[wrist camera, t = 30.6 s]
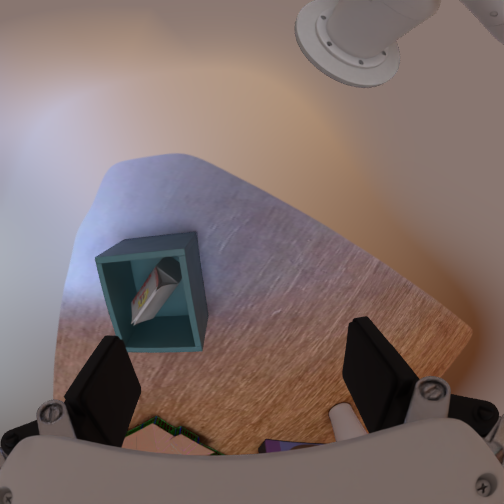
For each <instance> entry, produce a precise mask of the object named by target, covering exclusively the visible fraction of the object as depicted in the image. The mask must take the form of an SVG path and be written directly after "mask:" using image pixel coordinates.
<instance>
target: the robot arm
mask: <svg viewBox="0 0 504 504" xmlns="http://www.w3.org/2000/svg"><path fill="white" fill-rule="evenodd" d="M460 1H461V2H462V3H463V4H464V5H465V6H466V7H467V8H468V9H469V10H470V11H471V12H472V13H473V15H474V16H475V17H476V18H477V19H478V20H479V21H480V22H481V23H482V24H483V25H484V27H485V28H486V29H487V30H488V31H489V32H490V33H491V34H492V35H493V36H494V37H495V38H496V39H497V40H498V41H499V42H501V43H502V44H504V0H460ZM440 2H441V0H339V2H338V3H337V5H336V6H335V7H331V8H328V9H326V10H324V11H322V12H321V13H320V14H319V16H318V18H317V20H316V23H315V32H316V35H317V38H318V40H319V42H320V43H321V45H322V46H323V47H324V48H325V50H326V51H327V52H328V53H329V54H331V55H332V56H333V57H334V58H336V59H337V60H339V61H340V62H342V63H344V64H346V65H349V66H352V67H355V68H360V69H370V68H375V67H377V66H379V65H380V64H382V63H383V62H384V61H385V60H386V58H387V56H388V51H389V47H388V46H390V45H391V44H392V43H394V42H395V41H396V40H398V39H399V38H400V37H402V36H403V35H404V34H406V33H408V32H409V31H411V30H412V29H413V28H415V27H416V26H418V25H419V24H421V23H422V22H424V21H425V20H427V19H428V18H430V17H431V16H433V15H434V14H435V13H436V12H437V10H438V8H439V6H440ZM342 375H343V379H344V381H345V383H346V385H347V388H348V390H349V392H350V394H351V396H352V398H353V400H354V402H355V404H356V406H357V408H358V411H359V413H360V415H361V417H362V419H363V421H364V423H365V425H366V428H367V430H368V432H369V434H366V435H362V436H359V437H355V438H351V439H346V440H342V441H338V442H333V443H329V444H324V445H319V446H313V447H308V448H302V449H295V450H288V451H280V452H271V453H261V454H247V455H219V456H207V455H180V454H166V453H156V452H147V451H139V450H132V449H126V448H122V445H123V442H124V439H125V436H126V433H127V430H128V427H129V424H130V421H131V419H132V416H133V413H134V410H135V407H136V405H137V402H138V399H139V397H140V394H141V386H140V383H139V381H138V378H137V376H136V373H135V371H134V368H133V366H132V363H131V360H130V358H129V355H128V352H127V350H126V347H125V344H124V341H123V340H122V339H120V338H119V337H118V336H105V337H104V338H103V339H102V341H101V342H100V343H99V345H98V346H97V348H96V349H95V350H94V352H93V353H92V355H91V356H90V358H89V359H88V361H87V362H86V364H85V365H84V367H83V368H82V369H81V371H80V372H79V374H78V375H77V377H76V379H75V380H74V382H73V383H72V385H71V386H70V388H69V389H68V391H67V392H66V394H65V396H64V397H65V399H66V400H65V402H64V403H63V402H62V401H60V400H49V401H47V402H45V403H43V404H42V405H41V406H40V407H39V408H38V411H37V420H35V421H33V422H30V423H28V424H25V425H23V426H20V427H17V428H14V429H12V430H9V431H7V432H6V433H5V434H4V435H3V437H2V439H1V447H0V504H504V414H503V415H502V417H500V416H499V412H498V410H497V408H496V406H495V405H494V404H492V403H491V402H488V401H484V400H478V399H473V398H468V397H463V396H457V395H453V394H451V389H450V386H449V384H448V383H447V382H446V381H444V380H443V379H441V378H439V377H435V376H428V377H424V378H422V379H419V378H418V377H417V375H416V374H415V373H414V372H413V370H412V369H411V368H410V367H409V365H408V364H407V363H406V362H405V360H404V359H403V358H402V357H401V355H400V354H399V353H398V352H397V351H396V349H395V348H394V347H393V346H392V345H391V344H390V343H389V342H388V340H387V339H386V338H385V337H384V336H383V334H382V333H381V332H380V331H379V330H378V328H377V327H376V326H375V325H374V324H373V322H372V321H371V320H370V319H369V318H368V317H367V316H365V317H359V318H354V319H353V321H352V322H350V323H349V326H348V334H347V343H346V350H345V357H344V364H343V371H342Z"/></svg>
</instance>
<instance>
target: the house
mask: <svg viewBox="0 0 504 504" xmlns="http://www.w3.org/2000/svg"><path fill="white" fill-rule="evenodd" d="M154 418H155V417H154ZM158 418H159V417H158ZM152 419H153V418H152ZM156 419H157V416H156ZM156 419H155V422H154V419H153V423H152V421H151V424H150V422H149V421H150V420H151V419H150V420H148V421H147V422H149V425H148V423H147V422H145V423H147V426H146V424H145V423H143V424H141V425H142V427H143V428H142V427H141V425H139V426H140V427H141V429H140V428H139V426H138V429H139V430H137V429H136V428H137V427H136V428H134V429H136V430H137V431H136V432H135V430H134V429H132V430H133V431H134V433H133V432H132V431H131V430H130V432H131V433H132V434H130V433H129V431H128V432H127V433H128V434H129V435H127V434H126V437H125V439H124V442H123V445H122V448H126V449H132V450H139V451H147V452H156V453H166V454H180V455H207V456H210V454H212V456H213V453H216V450H215V452H214V451H212V450H211V449H212V448H210V447H209V448H210V449H208V448H206V445H205V447H204V446H202V445H201V444H202V443H201V442H200V443H199V436H198V437H197V438H198V442H197V438H196V437H195V439H193V438H191V439H192V440H191V439H190V438H188V437H189V436H188V437H186V436H187V435H188V430H187V429H186V430H187V435H186V436H184V435H185V431H184V435H182V434H180V432H181V427H182V426H180V431H179V432H178V431H177V433H176V429H177V428H175V427H174V428H175V429H174V430H175V434H174V436H173V435H172V434H170V432H171V433H174V430H173V428H172V431H173V432H172V431H170V428H169V431H170V432H166V431H165V430H163V429H162V428H160V427H158V426H157V425H155V423H157V424H159V423H158V422H156ZM158 420H159V419H158ZM163 421H164V420H163ZM161 422H162V419H161ZM164 423H165V421H164ZM166 423H167V422H166ZM144 424H145V426H146V427H144V426H143V425H144ZM167 424H168V423H167ZM159 425H160V426H161V424H159ZM169 425H170V424H169ZM162 427H164V425H163V426H162ZM172 427H173V426H172ZM164 428H165V427H164ZM182 428H183V427H182ZM166 429H167V427H166ZM178 429H179V427H178ZM184 429H185V428H184ZM167 430H168V429H167ZM189 432H190V431H189ZM178 433H179V435H178V436H175V435H176V434H178ZM182 433H183V430H182ZM191 433H192V432H190V434H191ZM192 434H193V433H192ZM194 435H195V434H194ZM196 436H197V435H196ZM194 440H195V441H194ZM196 442H197V443H196ZM203 445H204V444H203ZM207 447H208V446H207ZM213 450H214V449H213ZM219 453H220V452H219ZM221 454H222V453H221ZM222 455H224V454H222ZM214 456H215V455H214ZM217 456H218V451H217Z"/></svg>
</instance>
